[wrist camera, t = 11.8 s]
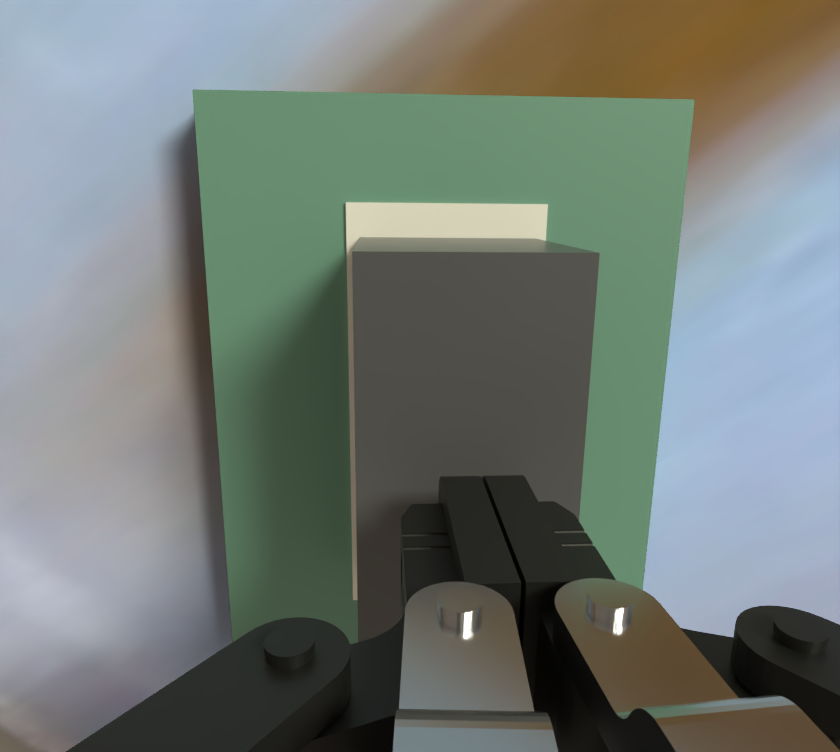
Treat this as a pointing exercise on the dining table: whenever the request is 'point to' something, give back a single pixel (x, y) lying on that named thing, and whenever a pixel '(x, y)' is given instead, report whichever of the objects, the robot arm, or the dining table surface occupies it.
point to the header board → (415, 218)
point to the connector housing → (462, 382)
